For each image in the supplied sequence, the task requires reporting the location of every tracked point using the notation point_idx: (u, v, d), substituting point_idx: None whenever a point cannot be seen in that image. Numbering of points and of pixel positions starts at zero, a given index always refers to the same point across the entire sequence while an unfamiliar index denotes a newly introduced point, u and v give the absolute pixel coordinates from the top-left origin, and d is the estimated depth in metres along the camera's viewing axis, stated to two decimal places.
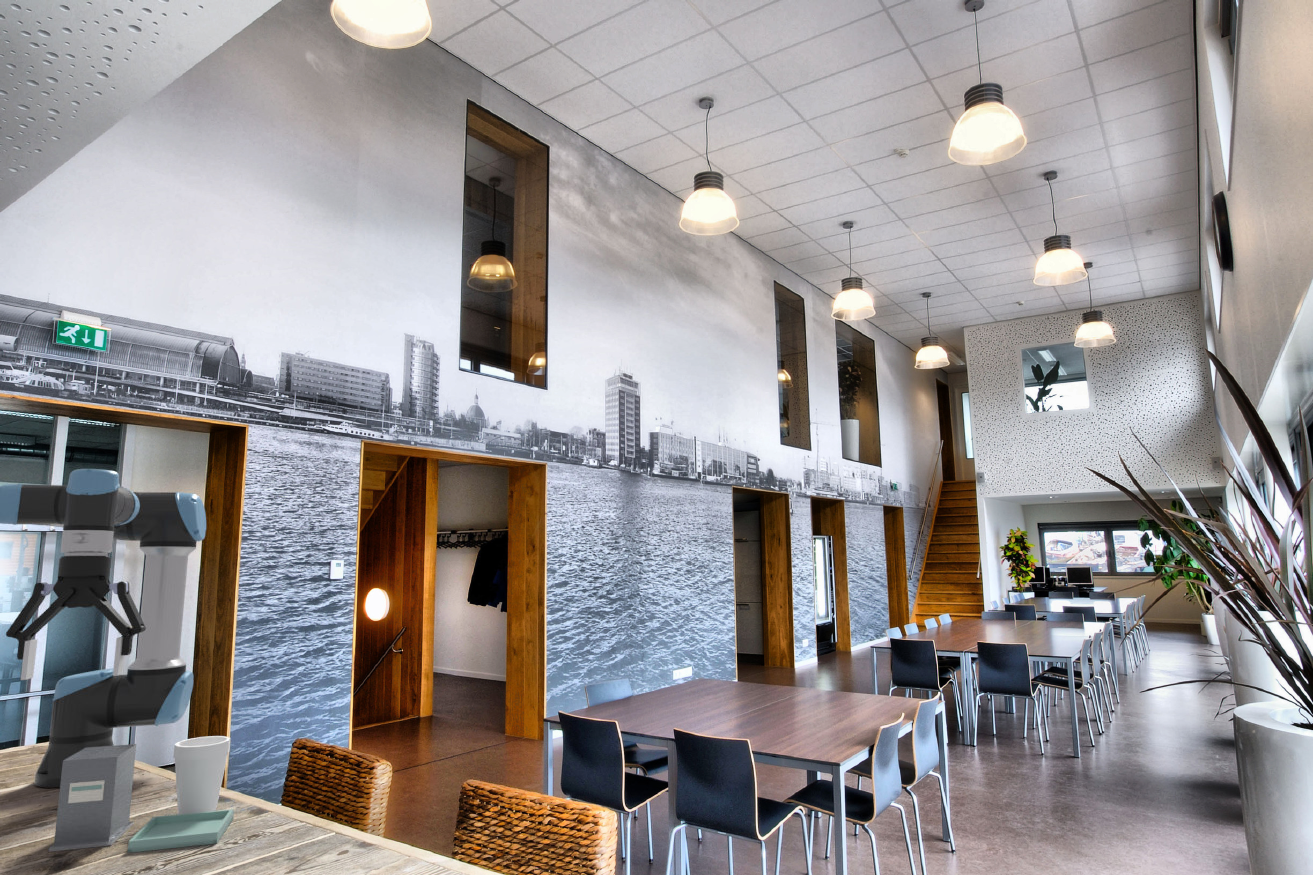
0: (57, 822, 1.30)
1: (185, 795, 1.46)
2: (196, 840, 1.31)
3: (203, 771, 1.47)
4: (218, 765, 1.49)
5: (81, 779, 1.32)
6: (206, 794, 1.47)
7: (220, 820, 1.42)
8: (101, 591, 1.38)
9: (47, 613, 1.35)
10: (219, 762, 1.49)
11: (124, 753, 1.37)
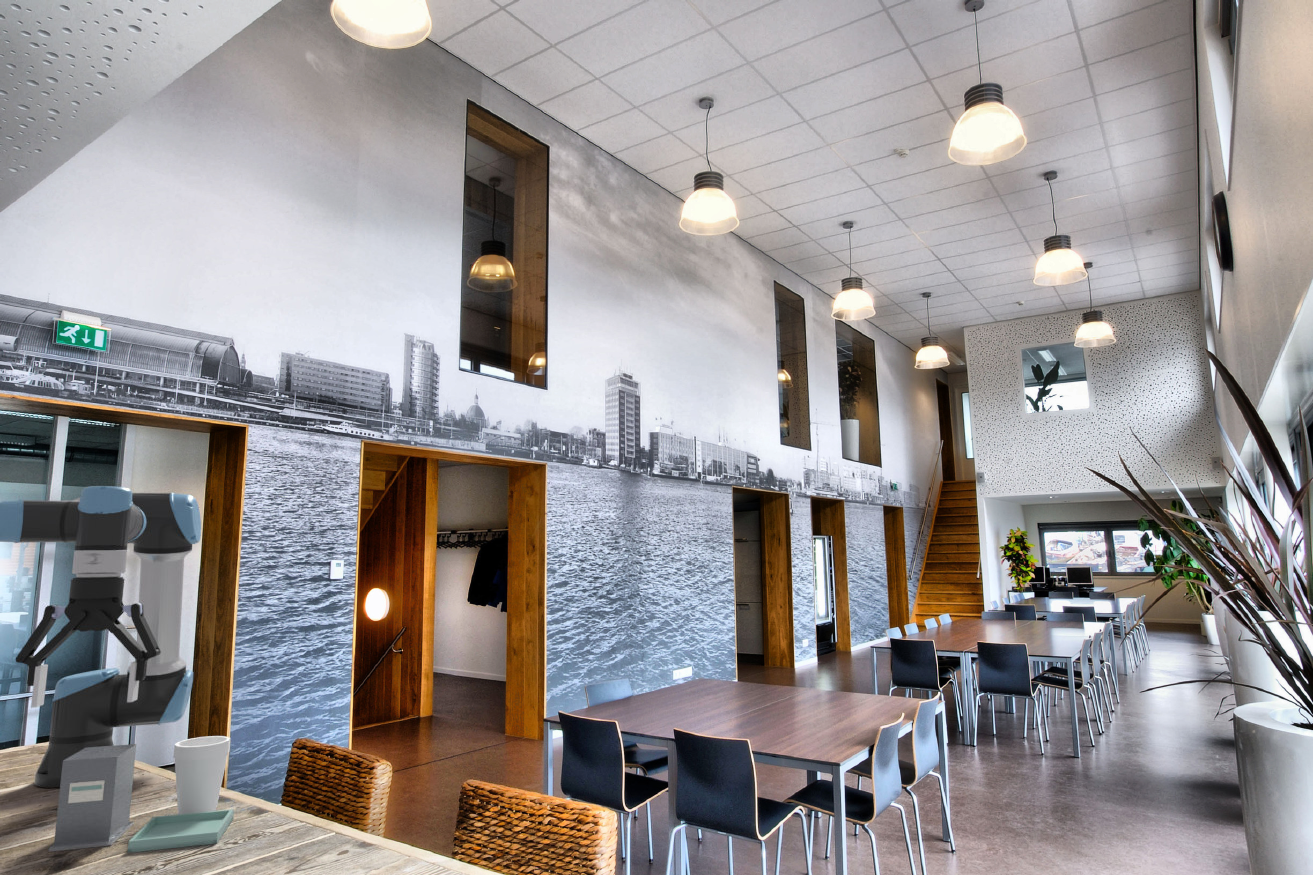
0: (57, 822, 1.30)
1: (185, 795, 1.46)
2: (196, 840, 1.31)
3: (203, 771, 1.47)
4: (218, 765, 1.49)
5: (81, 779, 1.32)
6: (206, 794, 1.47)
7: (220, 820, 1.42)
8: (114, 614, 1.32)
9: (58, 637, 1.29)
10: (219, 762, 1.49)
11: (124, 753, 1.37)
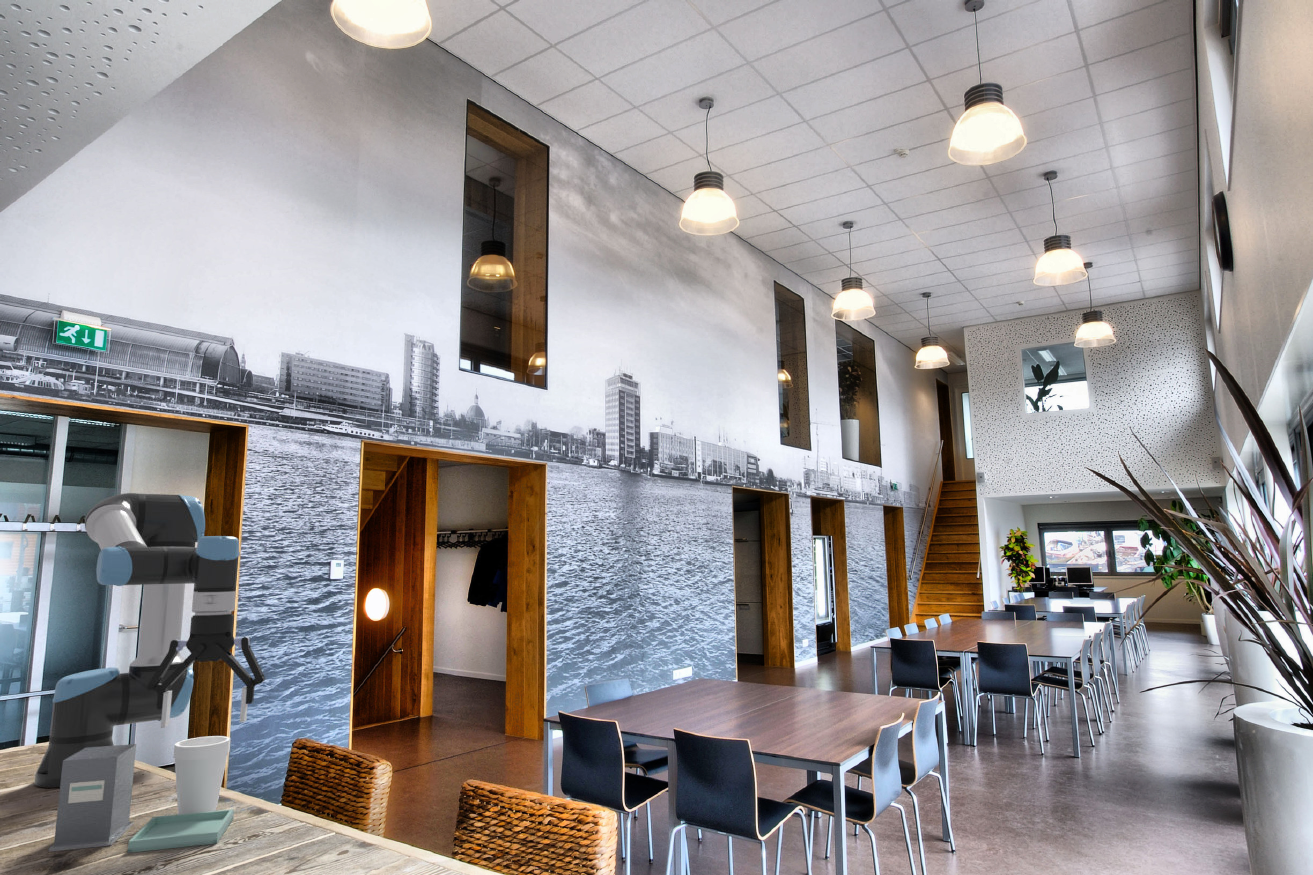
0: (57, 822, 1.30)
1: (185, 795, 1.46)
2: (196, 840, 1.31)
3: (203, 771, 1.47)
4: (218, 765, 1.49)
5: (81, 779, 1.32)
6: (206, 794, 1.47)
7: (220, 820, 1.42)
8: (227, 646, 1.54)
9: (182, 667, 1.51)
10: (219, 762, 1.49)
11: (124, 753, 1.37)
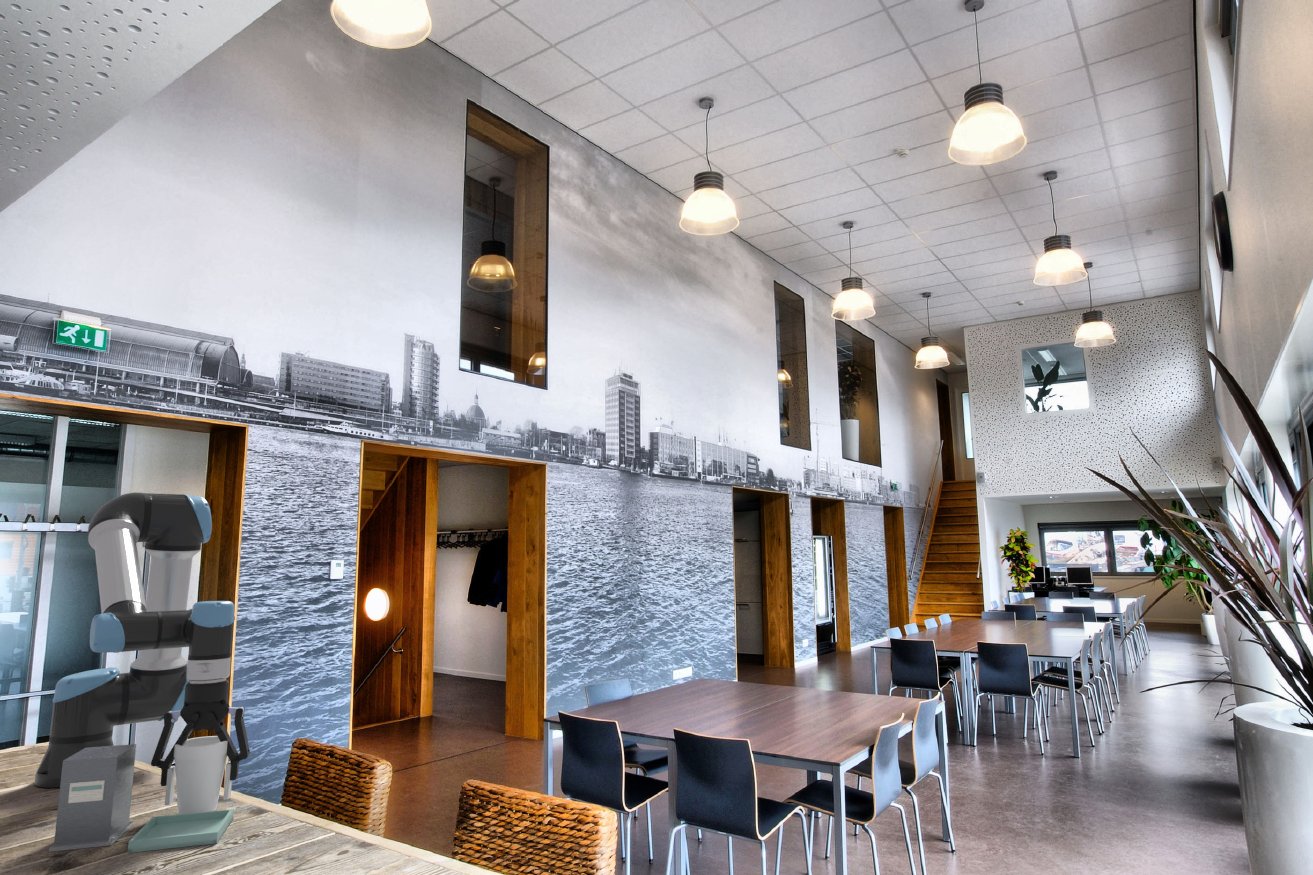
0: (57, 822, 1.30)
1: (185, 795, 1.46)
2: (196, 840, 1.31)
3: (203, 771, 1.47)
4: (218, 765, 1.49)
5: (81, 779, 1.32)
6: (206, 794, 1.47)
7: (220, 820, 1.42)
8: (221, 714, 1.52)
9: (181, 739, 1.49)
10: (219, 762, 1.49)
11: (124, 753, 1.37)
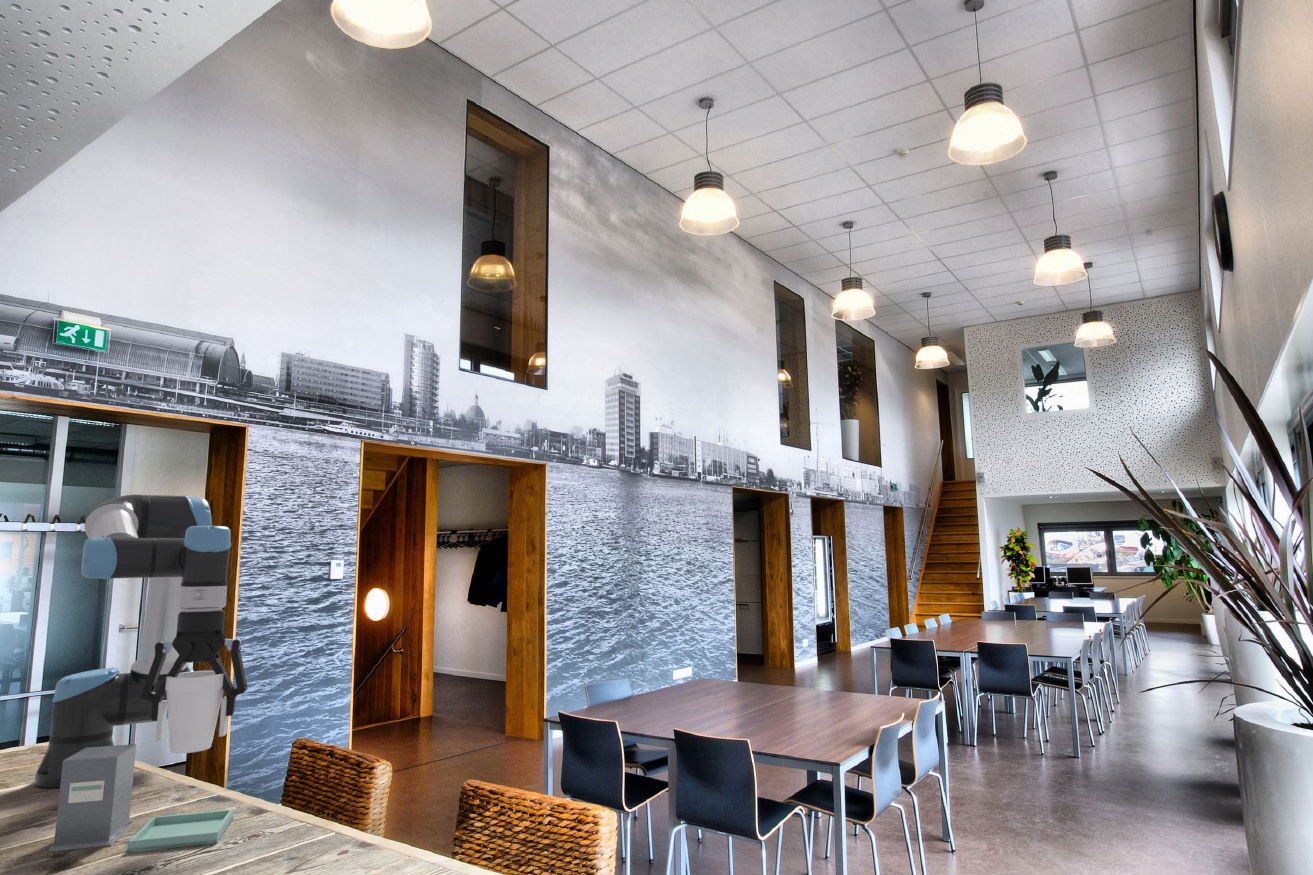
0: (57, 822, 1.30)
1: (177, 730, 1.35)
2: (196, 840, 1.31)
3: (197, 704, 1.36)
4: (213, 699, 1.39)
5: (81, 779, 1.32)
6: (200, 729, 1.37)
7: (220, 820, 1.42)
8: (217, 646, 1.41)
9: (173, 671, 1.38)
10: (214, 695, 1.39)
11: (124, 753, 1.37)
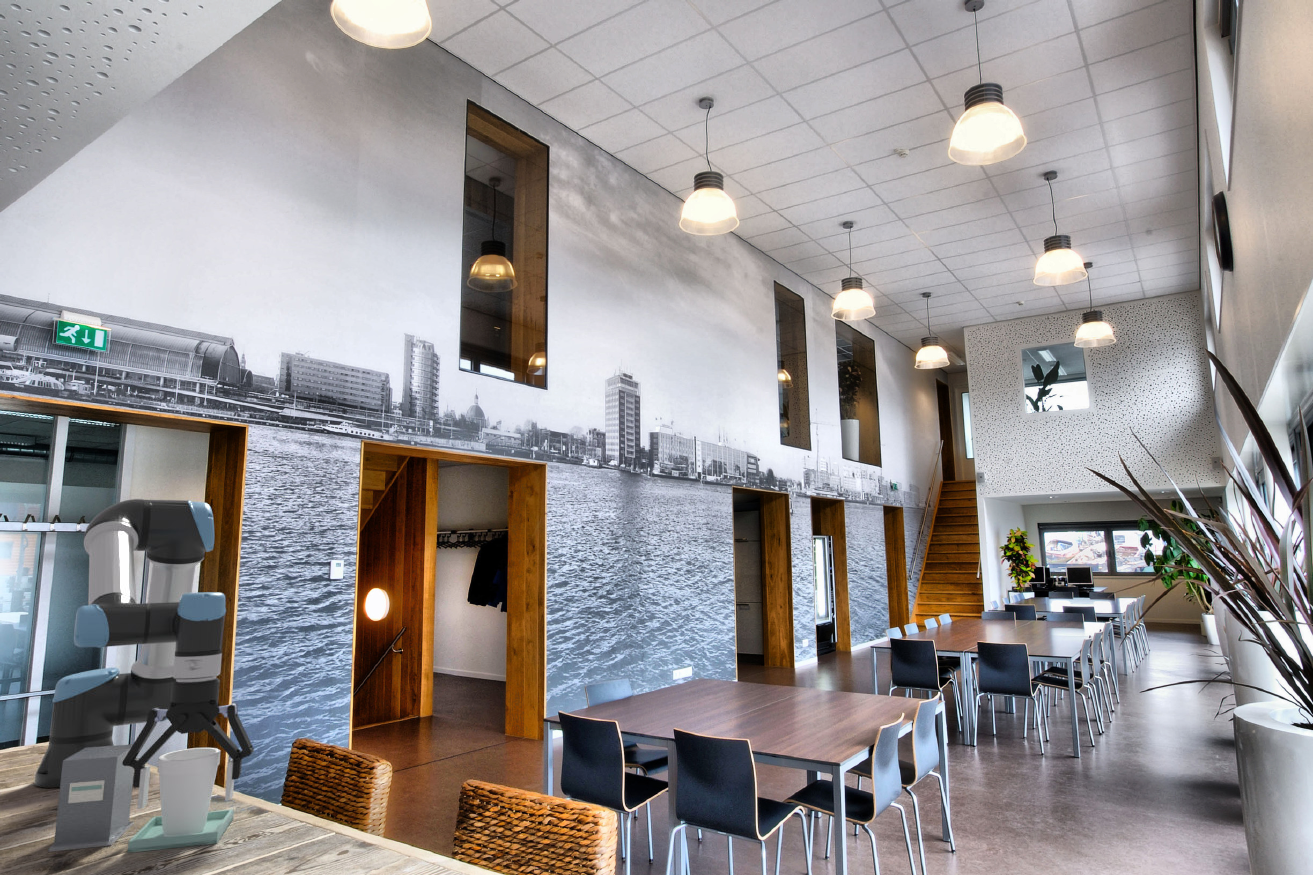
0: (57, 822, 1.30)
1: (170, 813, 1.33)
2: (196, 840, 1.31)
3: (190, 787, 1.34)
4: (206, 780, 1.36)
5: (81, 779, 1.32)
6: (193, 813, 1.34)
7: (220, 820, 1.42)
8: (212, 715, 1.39)
9: (161, 740, 1.36)
10: (207, 777, 1.36)
11: (124, 753, 1.37)
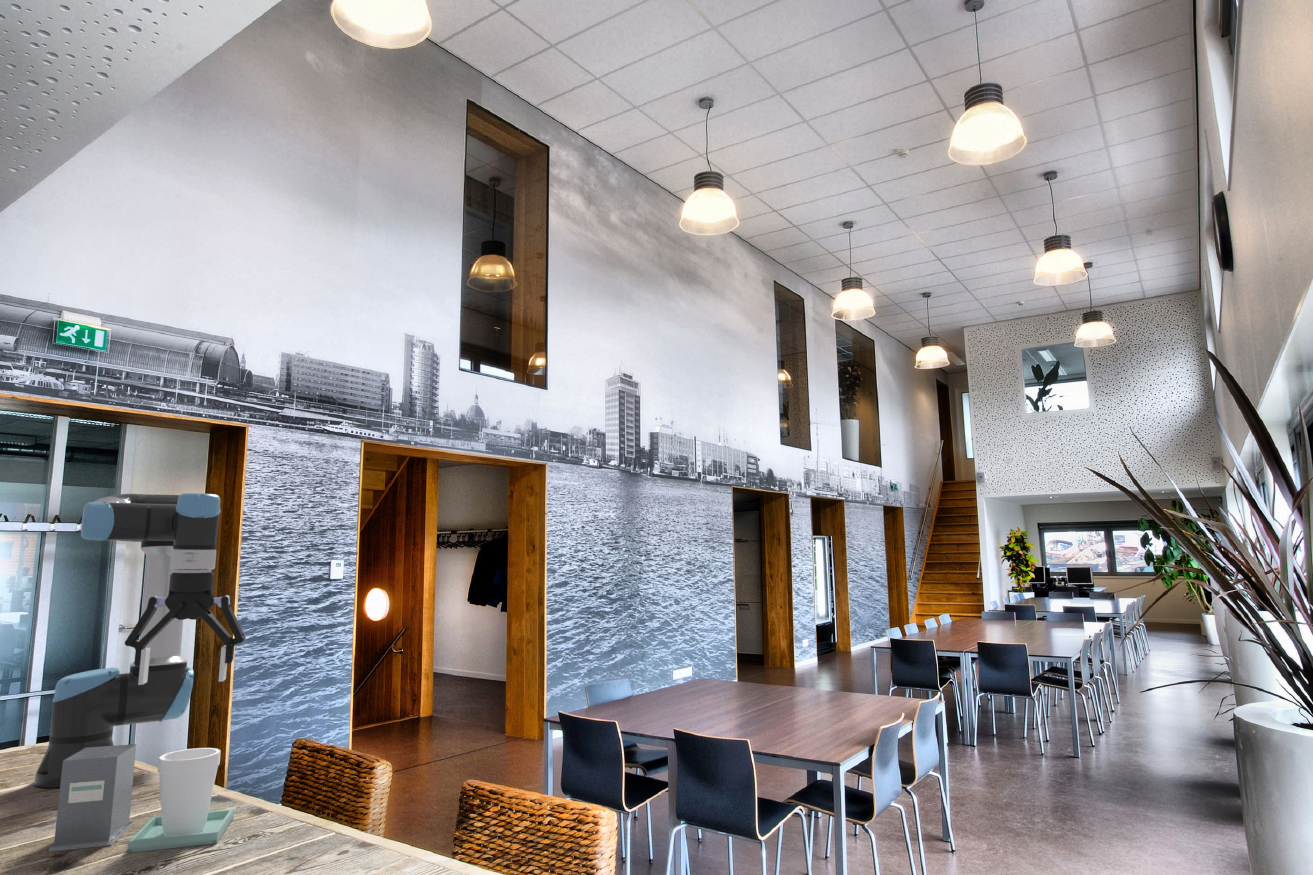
0: (57, 822, 1.30)
1: (170, 813, 1.33)
2: (196, 840, 1.31)
3: (190, 787, 1.34)
4: (206, 780, 1.36)
5: (81, 779, 1.32)
6: (193, 812, 1.34)
7: (220, 820, 1.42)
8: (207, 605, 1.52)
9: (160, 624, 1.49)
10: (207, 777, 1.36)
11: (124, 753, 1.37)
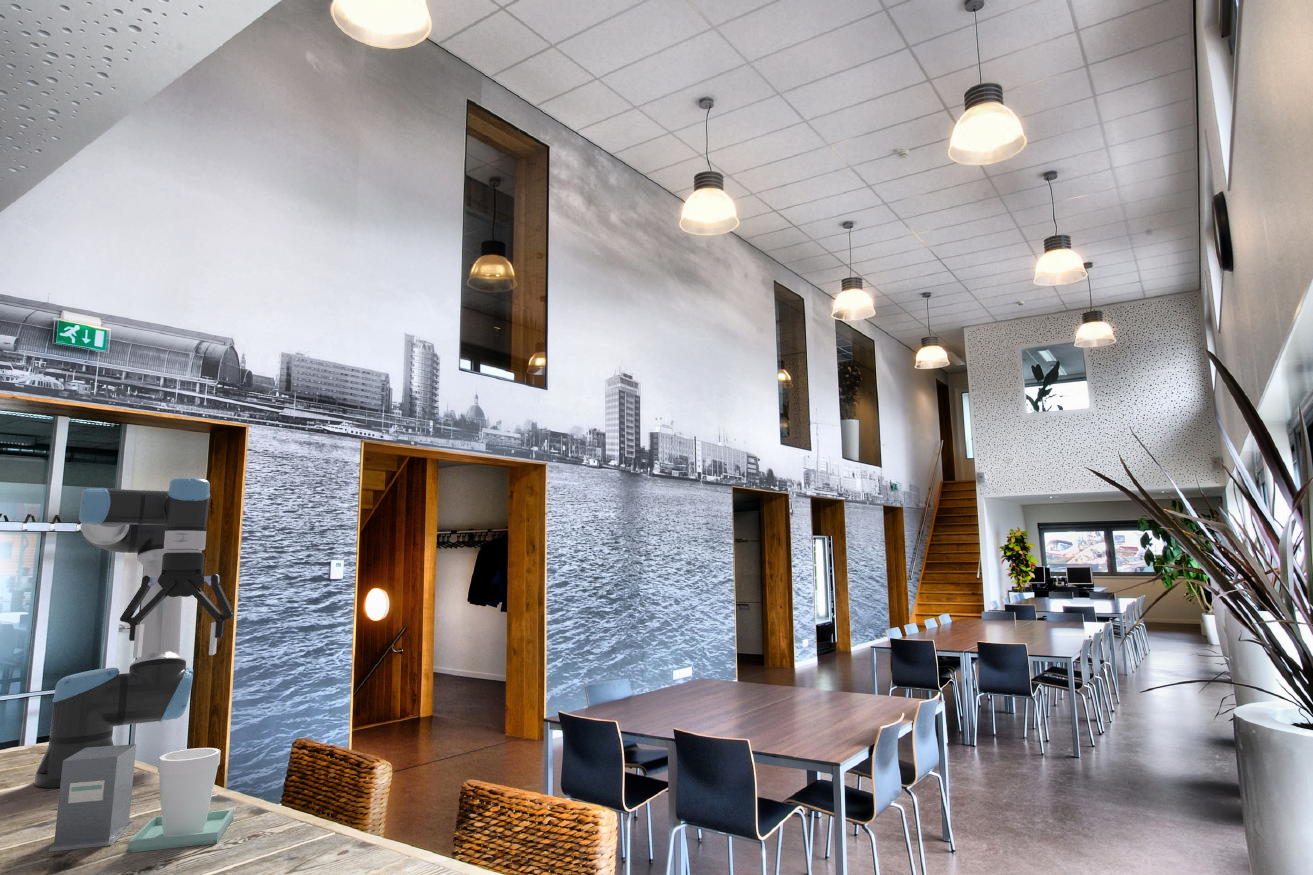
0: (57, 822, 1.30)
1: (170, 813, 1.33)
2: (196, 840, 1.31)
3: (190, 787, 1.34)
4: (206, 780, 1.36)
5: (81, 779, 1.32)
6: (193, 812, 1.34)
7: (220, 820, 1.42)
8: (198, 583, 1.61)
9: (153, 601, 1.58)
10: (207, 777, 1.36)
11: (124, 753, 1.37)
